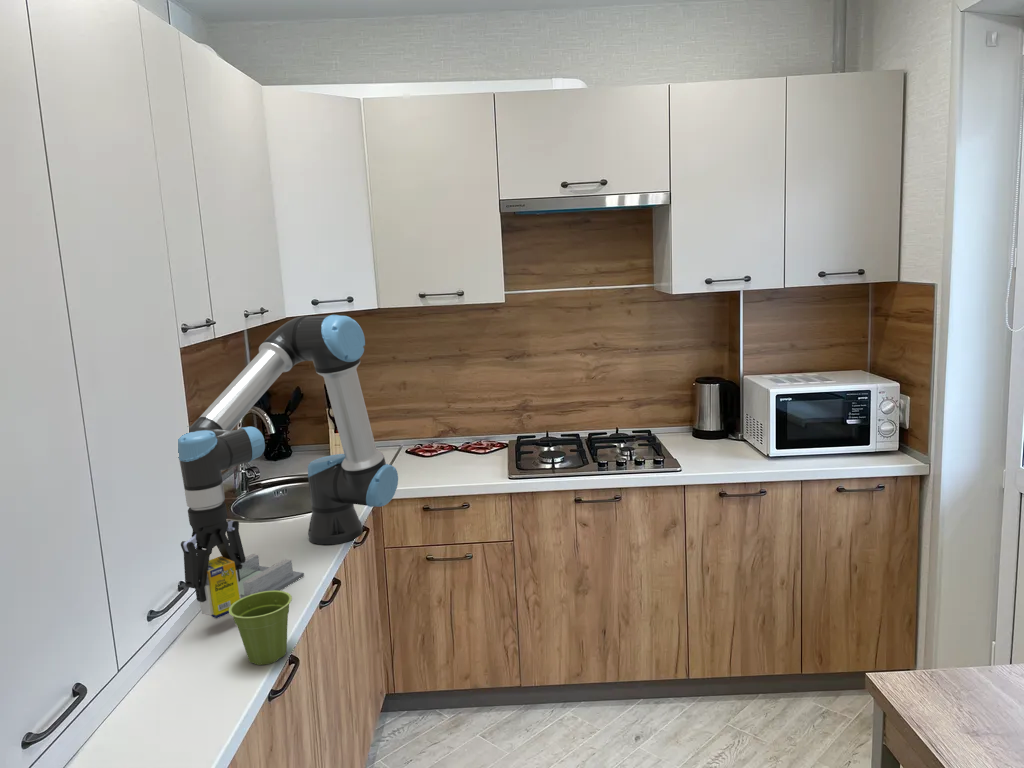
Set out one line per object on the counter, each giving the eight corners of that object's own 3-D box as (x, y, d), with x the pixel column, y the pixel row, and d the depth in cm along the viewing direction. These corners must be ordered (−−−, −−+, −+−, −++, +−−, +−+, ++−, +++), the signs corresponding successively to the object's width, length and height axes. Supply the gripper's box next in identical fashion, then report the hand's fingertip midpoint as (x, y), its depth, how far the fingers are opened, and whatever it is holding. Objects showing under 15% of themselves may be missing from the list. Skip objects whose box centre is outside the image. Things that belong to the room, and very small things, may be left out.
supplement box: (242, 608, 161) (235, 561, 159) (215, 619, 157) (208, 571, 155) (228, 601, 165) (221, 555, 163) (202, 612, 161) (195, 564, 159)
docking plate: (256, 568, 192) (253, 550, 191) (303, 576, 185) (301, 557, 184) (200, 598, 176) (197, 578, 176) (250, 608, 169) (247, 587, 169)
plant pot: (285, 635, 156) (279, 584, 154) (307, 656, 146) (301, 603, 144) (227, 655, 149) (220, 602, 147) (246, 679, 139) (239, 623, 137)
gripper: (229, 488, 167) (243, 583, 171) (153, 519, 149) (171, 624, 153) (254, 490, 164) (267, 588, 168) (179, 523, 146) (197, 630, 150)
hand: (221, 605), depth 161 cm, fingers closed on supplement box, 7 cm apart
